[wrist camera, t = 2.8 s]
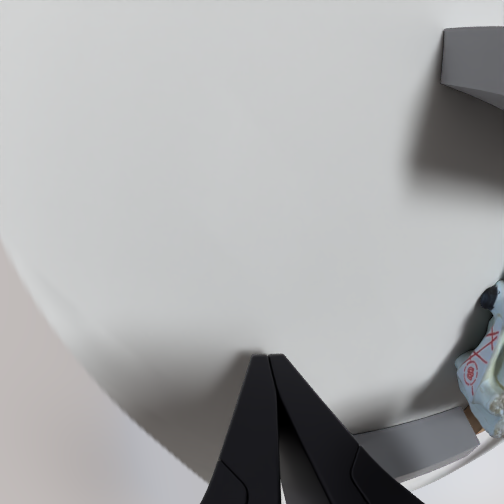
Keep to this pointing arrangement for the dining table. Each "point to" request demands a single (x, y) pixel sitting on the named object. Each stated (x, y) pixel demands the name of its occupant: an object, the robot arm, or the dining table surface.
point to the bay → (455, 421)
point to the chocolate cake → (486, 367)
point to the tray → (473, 421)
